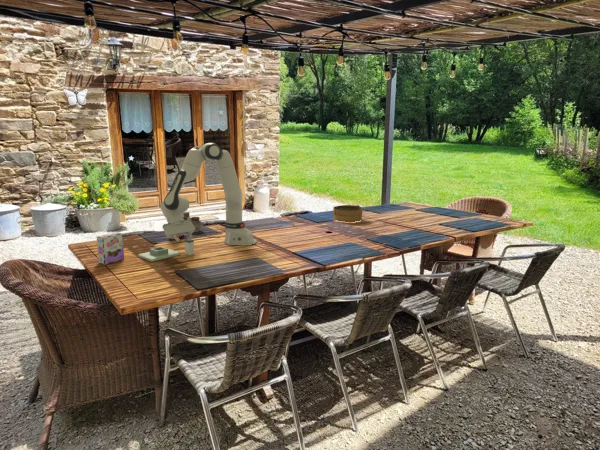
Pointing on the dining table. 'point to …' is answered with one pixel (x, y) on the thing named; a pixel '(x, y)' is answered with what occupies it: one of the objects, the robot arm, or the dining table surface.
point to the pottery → (194, 221)
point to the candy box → (110, 248)
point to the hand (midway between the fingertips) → (185, 239)
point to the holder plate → (158, 254)
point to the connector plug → (189, 247)
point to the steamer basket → (347, 213)
